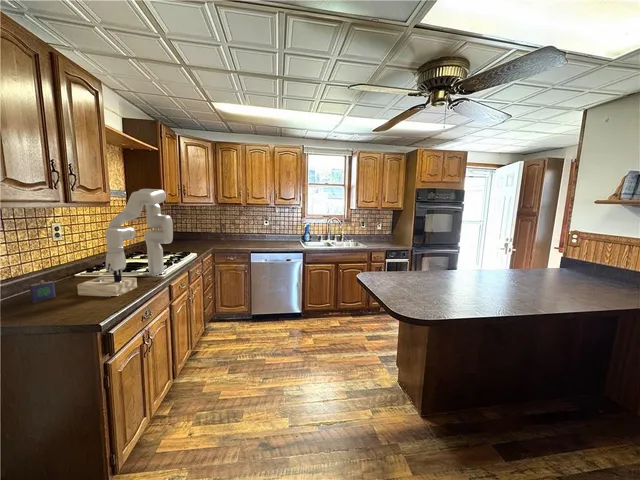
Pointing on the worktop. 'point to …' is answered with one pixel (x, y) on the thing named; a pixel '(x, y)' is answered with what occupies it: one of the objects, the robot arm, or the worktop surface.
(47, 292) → the flask
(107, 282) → the maple block
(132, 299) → the worktop surface
